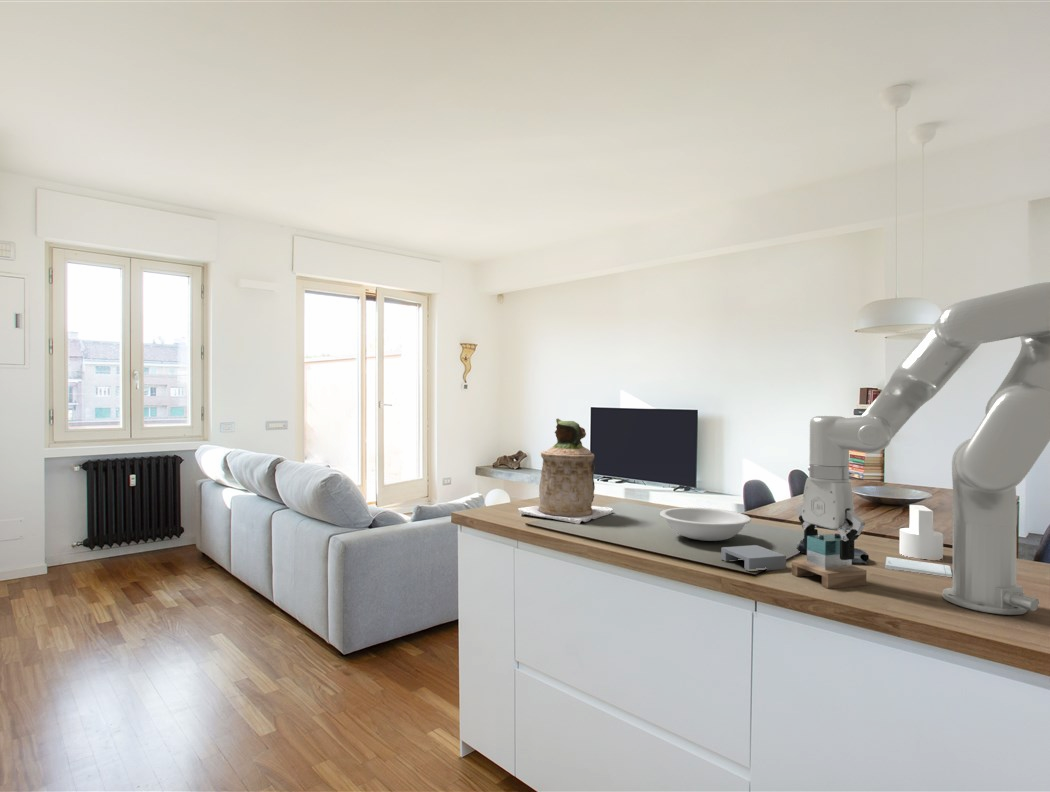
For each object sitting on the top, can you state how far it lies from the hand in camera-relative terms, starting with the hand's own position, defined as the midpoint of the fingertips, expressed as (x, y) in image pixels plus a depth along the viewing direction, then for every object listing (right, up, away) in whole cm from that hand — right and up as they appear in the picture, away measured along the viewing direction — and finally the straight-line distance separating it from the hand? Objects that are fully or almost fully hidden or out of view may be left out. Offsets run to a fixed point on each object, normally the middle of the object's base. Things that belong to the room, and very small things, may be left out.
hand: (828, 553), depth 124 cm
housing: (0, -3, 0) cm, 3 cm away
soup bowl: (-15, -6, +36) cm, 40 cm away
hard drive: (+25, -7, +9) cm, 28 cm away
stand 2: (0, -6, 0) cm, 6 cm away
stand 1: (-12, -6, +11) cm, 17 cm away
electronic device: (+11, -7, +19) cm, 23 cm away
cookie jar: (-51, -6, +69) cm, 86 cm away
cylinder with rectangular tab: (+34, -7, +21) cm, 41 cm away
